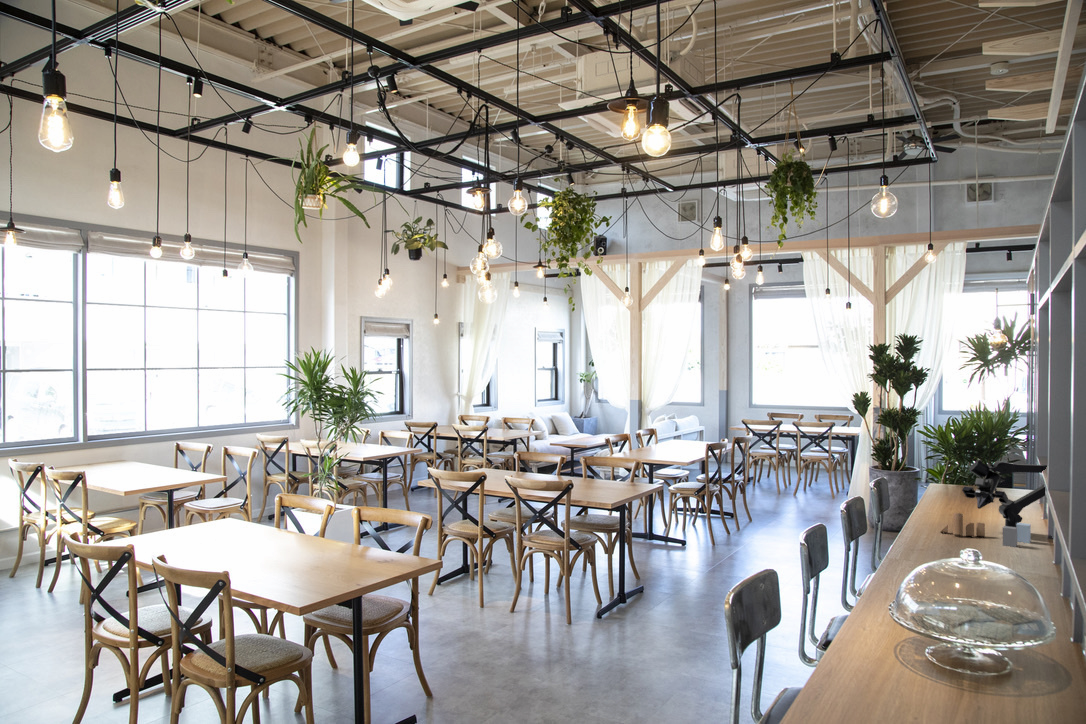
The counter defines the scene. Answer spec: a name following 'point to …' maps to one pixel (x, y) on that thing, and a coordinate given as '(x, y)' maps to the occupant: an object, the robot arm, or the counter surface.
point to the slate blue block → (1023, 532)
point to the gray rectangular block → (1010, 536)
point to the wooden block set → (969, 528)
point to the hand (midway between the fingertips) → (978, 508)
